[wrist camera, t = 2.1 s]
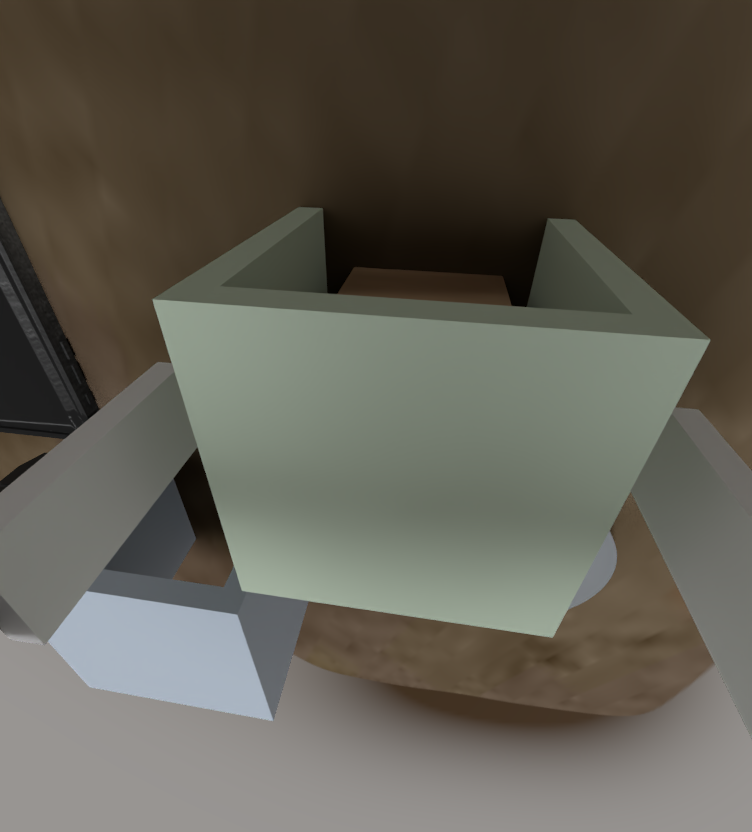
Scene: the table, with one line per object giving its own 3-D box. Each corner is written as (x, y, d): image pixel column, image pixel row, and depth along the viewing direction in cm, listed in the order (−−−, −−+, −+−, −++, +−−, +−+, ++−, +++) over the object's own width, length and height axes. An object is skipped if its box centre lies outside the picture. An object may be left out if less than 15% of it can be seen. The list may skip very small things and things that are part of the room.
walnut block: (354, 266, 15) (317, 325, 11) (502, 275, 14) (522, 341, 10) (356, 388, 17) (328, 471, 13) (478, 399, 17) (486, 489, 13)
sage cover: (298, 207, 14) (151, 299, 7) (575, 219, 13) (710, 340, 6) (316, 420, 19) (241, 590, 12) (515, 440, 18) (552, 637, 11)
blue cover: (138, 424, 20) (-12, 575, 14) (310, 443, 20) (237, 614, 13) (183, 537, 26) (89, 687, 19) (321, 556, 25) (273, 720, 18)
